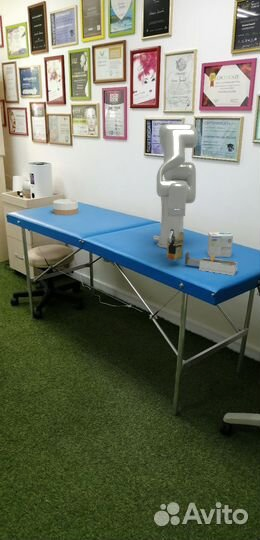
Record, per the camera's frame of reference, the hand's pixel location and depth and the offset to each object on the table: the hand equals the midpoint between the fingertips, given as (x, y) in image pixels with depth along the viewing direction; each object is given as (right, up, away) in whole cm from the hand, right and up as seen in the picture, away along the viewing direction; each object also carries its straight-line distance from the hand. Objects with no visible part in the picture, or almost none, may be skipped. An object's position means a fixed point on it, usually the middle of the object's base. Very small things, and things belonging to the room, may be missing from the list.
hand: (174, 251), depth 180 cm
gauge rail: (+18, -9, -5) cm, 21 cm away
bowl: (-65, +32, +103) cm, 126 cm away
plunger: (+11, -6, -3) cm, 13 cm away
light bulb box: (+23, -1, +15) cm, 28 cm away
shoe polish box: (0, -3, +1) cm, 3 cm away
